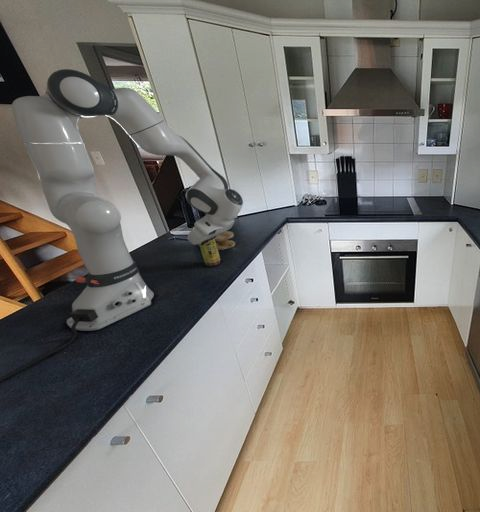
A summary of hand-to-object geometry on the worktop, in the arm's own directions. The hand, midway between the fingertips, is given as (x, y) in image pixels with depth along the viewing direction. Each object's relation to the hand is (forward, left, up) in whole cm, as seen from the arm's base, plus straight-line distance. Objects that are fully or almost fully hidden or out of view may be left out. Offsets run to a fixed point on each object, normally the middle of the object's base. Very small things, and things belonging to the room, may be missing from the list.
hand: (205, 240), depth 119 cm
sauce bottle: (0, -1, -12) cm, 12 cm away
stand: (+18, +10, -12) cm, 24 cm away
